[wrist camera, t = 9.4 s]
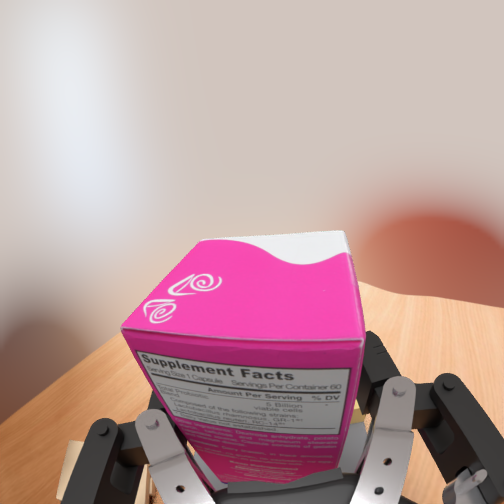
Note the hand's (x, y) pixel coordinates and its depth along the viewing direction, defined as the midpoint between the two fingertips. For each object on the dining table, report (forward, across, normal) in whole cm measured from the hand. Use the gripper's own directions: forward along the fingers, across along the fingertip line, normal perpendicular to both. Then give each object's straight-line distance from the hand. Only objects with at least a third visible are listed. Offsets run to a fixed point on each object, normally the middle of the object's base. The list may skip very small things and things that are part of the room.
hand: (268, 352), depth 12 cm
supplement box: (-2, 0, +6) cm, 7 cm away
